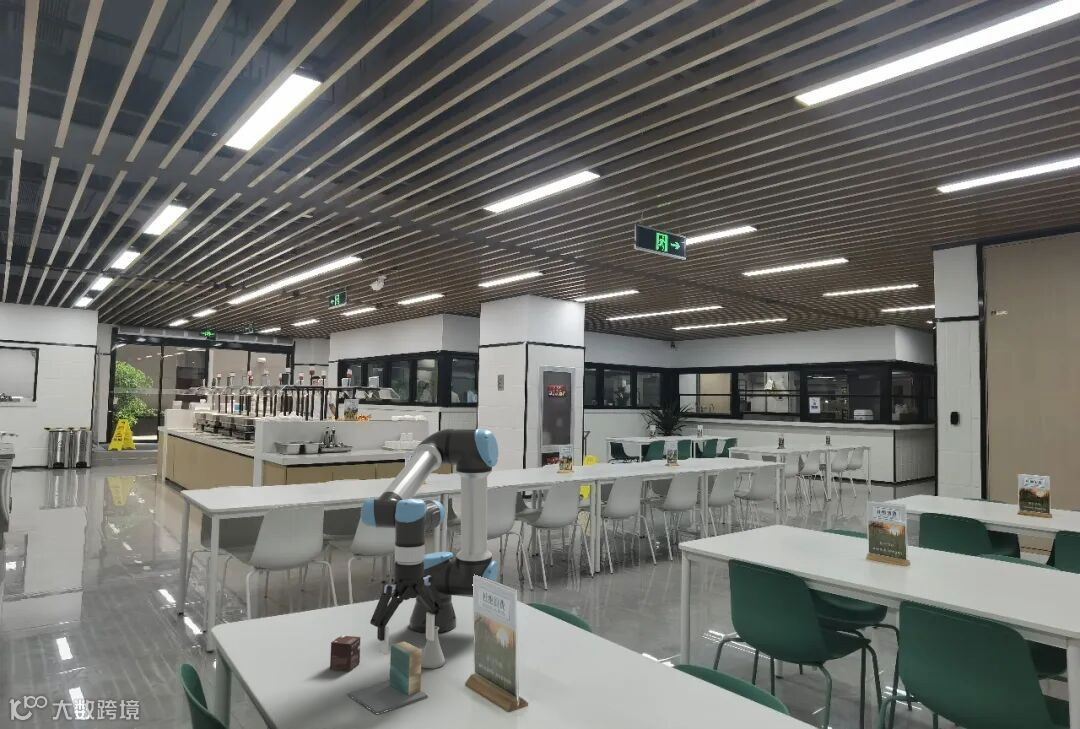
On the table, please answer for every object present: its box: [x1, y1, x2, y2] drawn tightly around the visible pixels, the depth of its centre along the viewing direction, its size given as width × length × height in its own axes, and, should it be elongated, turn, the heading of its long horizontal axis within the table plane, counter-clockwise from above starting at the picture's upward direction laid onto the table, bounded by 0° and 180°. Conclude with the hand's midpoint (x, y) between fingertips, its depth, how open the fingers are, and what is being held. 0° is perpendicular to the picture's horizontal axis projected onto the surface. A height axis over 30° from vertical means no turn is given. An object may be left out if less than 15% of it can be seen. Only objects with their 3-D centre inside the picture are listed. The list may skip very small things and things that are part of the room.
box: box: [329, 635, 361, 672], centre depth 181 cm, size 6×6×7 cm
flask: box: [421, 626, 446, 670], centre depth 184 cm, size 7×7×10 cm
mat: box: [347, 679, 429, 714], centre depth 163 cm, size 14×14×1 cm
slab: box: [389, 641, 423, 695], centre depth 167 cm, size 4×8×10 cm, turn 44°
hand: (407, 645), depth 168 cm, fingers open, 13 cm apart
